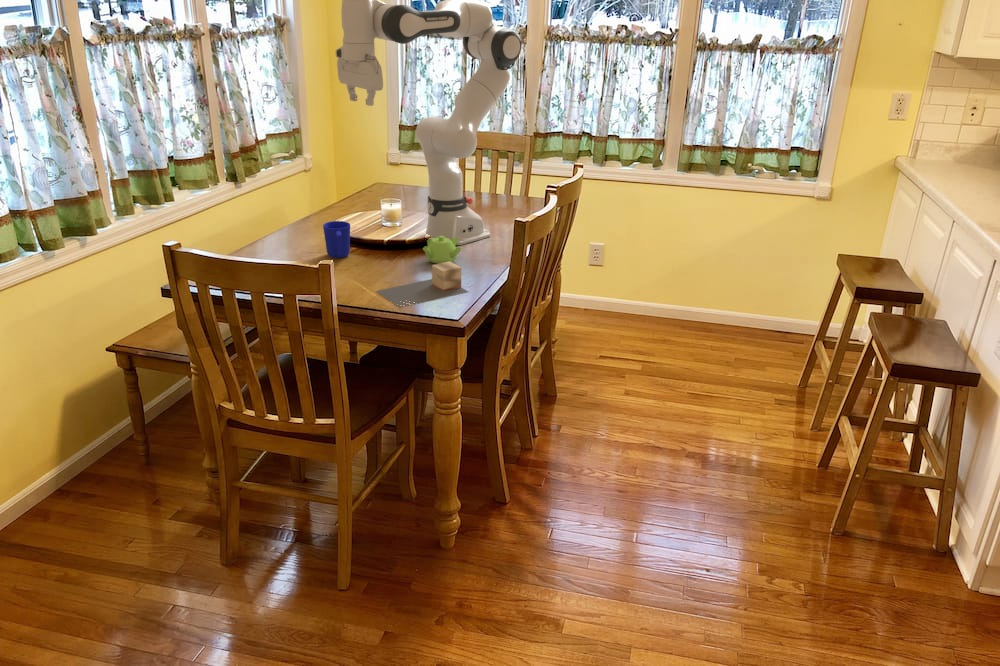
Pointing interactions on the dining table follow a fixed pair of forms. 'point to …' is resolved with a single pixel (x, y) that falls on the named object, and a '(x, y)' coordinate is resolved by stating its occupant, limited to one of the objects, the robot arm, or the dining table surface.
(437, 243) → the teapot
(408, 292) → the mat
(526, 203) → the dining table surface
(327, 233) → the mug
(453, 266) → the cube
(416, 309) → the dining table surface
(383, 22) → the robot arm
